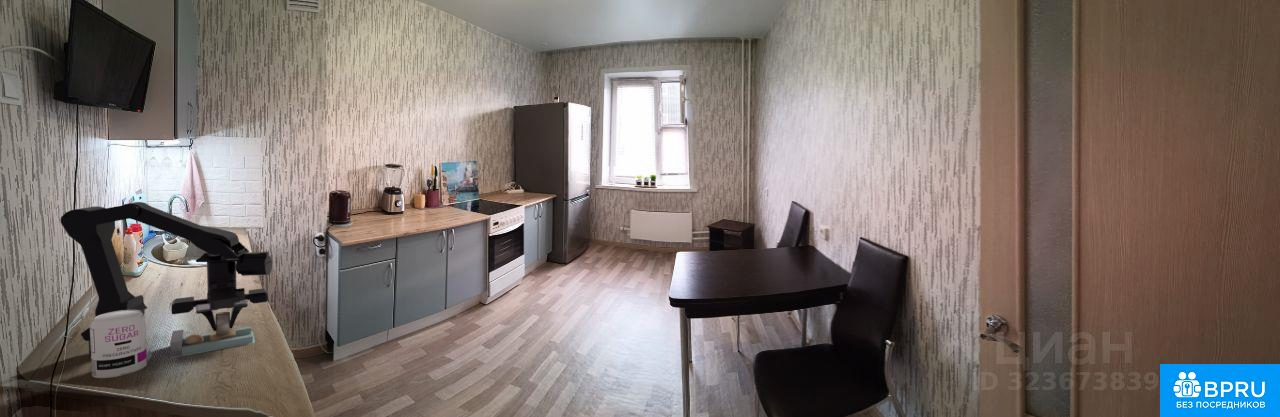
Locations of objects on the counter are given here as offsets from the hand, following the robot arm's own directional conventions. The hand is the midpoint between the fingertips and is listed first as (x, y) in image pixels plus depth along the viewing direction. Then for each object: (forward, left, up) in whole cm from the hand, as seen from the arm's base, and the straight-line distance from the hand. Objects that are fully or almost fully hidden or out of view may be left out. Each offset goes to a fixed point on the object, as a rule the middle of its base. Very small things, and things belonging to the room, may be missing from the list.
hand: (223, 329), depth 115 cm
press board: (-1, +1, -5) cm, 5 cm away
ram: (0, 0, -4) cm, 4 cm away
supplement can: (-17, +7, -5) cm, 19 cm away
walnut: (-4, +4, -4) cm, 7 cm away
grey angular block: (-6, +6, -4) cm, 9 cm away
